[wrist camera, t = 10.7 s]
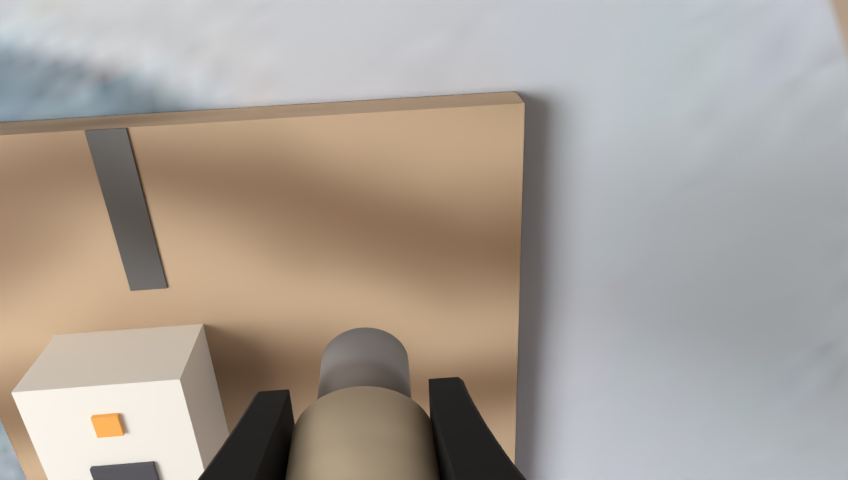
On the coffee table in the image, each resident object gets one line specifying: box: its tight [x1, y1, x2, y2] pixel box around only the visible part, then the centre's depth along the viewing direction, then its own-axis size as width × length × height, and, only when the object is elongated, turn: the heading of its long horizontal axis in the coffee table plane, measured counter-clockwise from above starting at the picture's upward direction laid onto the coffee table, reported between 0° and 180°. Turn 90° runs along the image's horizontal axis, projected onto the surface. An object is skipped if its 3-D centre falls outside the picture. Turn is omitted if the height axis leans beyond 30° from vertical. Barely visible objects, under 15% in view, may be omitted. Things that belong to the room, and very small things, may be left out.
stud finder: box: [11, 324, 229, 480], centre depth 23 cm, size 8×5×3 cm, turn 2°
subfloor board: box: [0, 91, 525, 480], centre depth 24 cm, size 20×19×2 cm
